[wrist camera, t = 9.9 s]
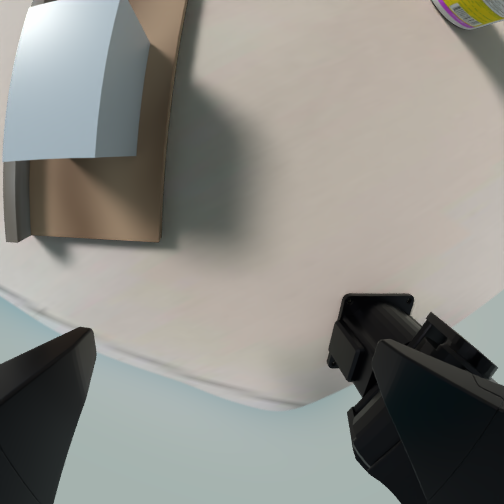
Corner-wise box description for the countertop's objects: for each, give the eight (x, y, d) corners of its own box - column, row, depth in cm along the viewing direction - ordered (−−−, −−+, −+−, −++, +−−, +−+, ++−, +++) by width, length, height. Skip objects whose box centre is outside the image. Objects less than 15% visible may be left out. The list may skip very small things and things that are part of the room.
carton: (150, 42, 15) (122, -11, 8) (136, 156, 17) (94, 157, 10) (78, 48, 14) (25, 8, 7) (64, 156, 16) (-1, 162, 9)
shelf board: (190, -13, 15) (189, -35, 12) (161, 237, 20) (153, 251, 17) (54, 0, 13) (37, -15, 10) (26, 230, 18) (4, 241, 15)
